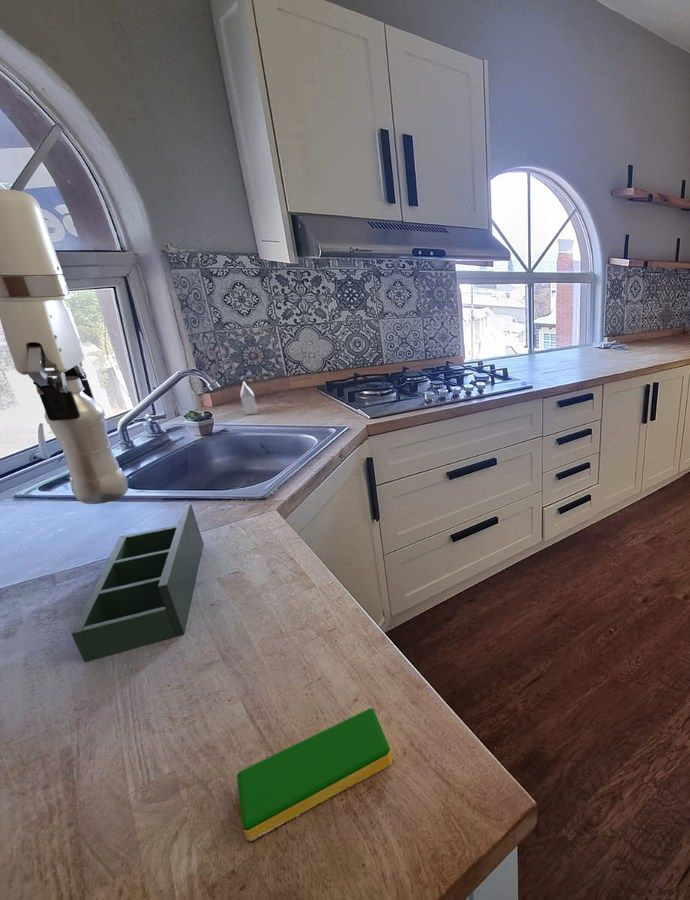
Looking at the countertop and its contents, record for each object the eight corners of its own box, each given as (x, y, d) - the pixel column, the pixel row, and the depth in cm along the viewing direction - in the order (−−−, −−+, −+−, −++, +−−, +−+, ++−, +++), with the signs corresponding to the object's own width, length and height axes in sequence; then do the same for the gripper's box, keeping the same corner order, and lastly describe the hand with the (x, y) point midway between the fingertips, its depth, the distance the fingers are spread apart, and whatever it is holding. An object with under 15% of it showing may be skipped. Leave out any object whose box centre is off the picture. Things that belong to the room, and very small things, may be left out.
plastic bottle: (123, 487, 85) (84, 372, 78) (139, 498, 82) (100, 378, 75) (71, 501, 80) (24, 379, 73) (86, 513, 77) (38, 387, 69)
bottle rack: (84, 662, 69) (59, 610, 66) (128, 559, 91) (112, 516, 88) (184, 634, 75) (166, 584, 71) (203, 544, 97) (190, 502, 93)
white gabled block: (256, 408, 174) (250, 380, 170) (258, 413, 169) (251, 384, 165) (244, 409, 172) (237, 381, 168) (245, 415, 167) (237, 386, 163)
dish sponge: (241, 787, 54) (236, 771, 53) (375, 720, 62) (372, 706, 61) (248, 845, 49) (242, 829, 48) (393, 764, 57) (390, 749, 56)
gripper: (16, 283, 74) (59, 400, 81) (-45, 294, 60) (13, 433, 67) (85, 283, 78) (121, 395, 84) (43, 294, 64) (89, 426, 70)
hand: (73, 411), depth 75 cm, fingers closed on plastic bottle, 6 cm apart
